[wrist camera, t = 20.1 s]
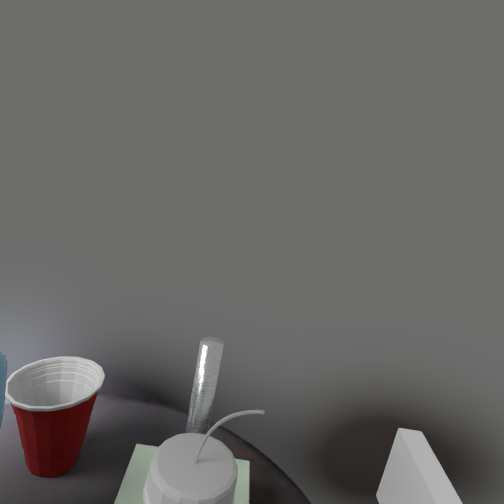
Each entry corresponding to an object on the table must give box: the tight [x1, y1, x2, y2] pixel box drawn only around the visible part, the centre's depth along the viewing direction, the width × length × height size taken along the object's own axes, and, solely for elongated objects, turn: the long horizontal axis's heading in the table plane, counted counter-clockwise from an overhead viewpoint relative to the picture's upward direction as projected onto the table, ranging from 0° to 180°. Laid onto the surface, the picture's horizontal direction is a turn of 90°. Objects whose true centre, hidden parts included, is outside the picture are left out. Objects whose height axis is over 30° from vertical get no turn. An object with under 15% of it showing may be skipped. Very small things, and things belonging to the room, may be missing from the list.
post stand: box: [185, 337, 224, 435], centre depth 42 cm, size 12×12×24 cm
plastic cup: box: [5, 356, 105, 477], centre depth 51 cm, size 11×11×12 cm
